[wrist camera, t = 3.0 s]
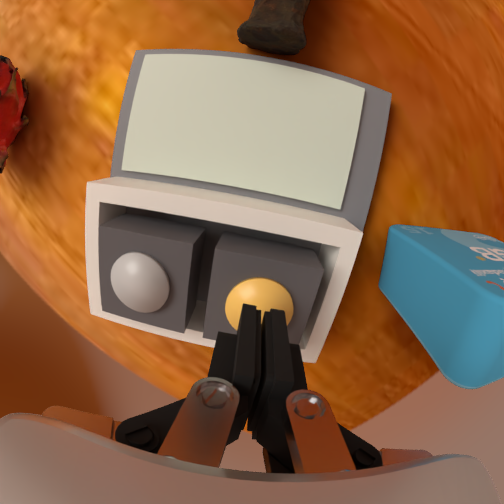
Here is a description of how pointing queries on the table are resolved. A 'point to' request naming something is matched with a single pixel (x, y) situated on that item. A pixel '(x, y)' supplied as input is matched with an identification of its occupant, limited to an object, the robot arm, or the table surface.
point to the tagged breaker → (261, 283)
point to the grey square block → (150, 269)
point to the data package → (450, 298)
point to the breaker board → (244, 165)
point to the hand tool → (275, 26)
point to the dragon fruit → (10, 106)
